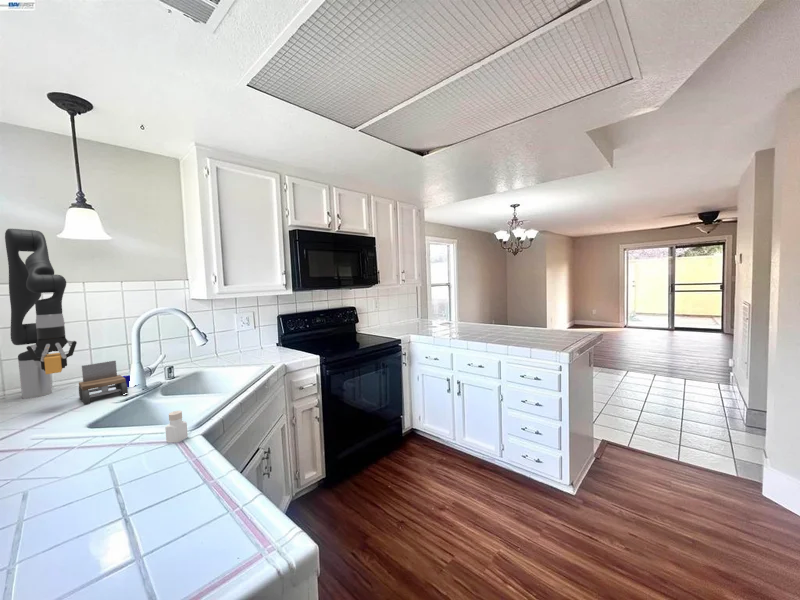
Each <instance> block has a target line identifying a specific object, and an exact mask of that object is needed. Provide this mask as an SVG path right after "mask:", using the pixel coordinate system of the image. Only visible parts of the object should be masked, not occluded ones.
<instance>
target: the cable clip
mask: <svg viewBox="0 0 800 600" xmlns="http://www.w3.org/2000/svg"><path fill="white" fill-rule="evenodd" d="M130 375H131V374H129V375H121V376H122V377H124V378H125V379H126V384H127V387H129V381H130Z"/></svg>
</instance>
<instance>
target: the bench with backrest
mask: <svg viewBox="0 0 800 600" xmlns="http://www.w3.org/2000/svg"><path fill="white" fill-rule="evenodd" d="M81 372H82V381H79V382H78V396H79V400H80V401H81V400H82V403H83V405H88V404H90V403H91V398H94V397H100V396H105V395H109V394H114V393H120V395H121V394H125V393H128V394H129V390H128V389H129V388H127V384H126V379H125V378H124V377H122V376H123V375H121V374H118V373H117V372H118V371H117V360H110V361H104V362H96V363H91V364H86V365H81ZM114 388H115V389H114ZM109 389H110V390H109ZM99 391H101V392H99ZM119 391H120V392H119ZM94 392H97V393H94Z"/></svg>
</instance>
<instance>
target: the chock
mask: <svg viewBox="0 0 800 600" xmlns="http://www.w3.org/2000/svg"><path fill="white" fill-rule="evenodd" d="M61 358H62V356H61V354H60V353H59V352H54V353H48V354H47V356H46V357H45V358H44V362H45V373H46V374H50V375H52V374H57V373H61V372H62V371H63V369H64V368H62V360H61Z"/></svg>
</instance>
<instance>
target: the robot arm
mask: <svg viewBox="0 0 800 600" xmlns="http://www.w3.org/2000/svg"><path fill="white" fill-rule="evenodd" d="M4 242H5V250H6V255H7V263H8V293H9V302H10V341H11V342H12V344H13V345H15V346H24V345H27V346H26V351H24V352H20V353H19V354H18V356H17V361H18V370H19V379H20V380H19V381H20V392H21V399H22V400H28V399H36V398H41V397H44V396H48V395H51V394H53V388H52V374H46V373H45V362H44V358H45V357H46V356H47V354H49V353H51V352H58V353H60V354H61V356H62V358H61V360H62V368H63V369H65V368H66V367H67V366H68V358H69V357H72V356H73V355H74V352H75V350H76V346H77V344H78V343H77V341H76V340H68V338H67V337H66V327H65V318H64V314H63V297H64V293H65V290H66V288H67V280H66V278H65V277H64V276H63V275H61V274H55V269H54V267H53V265H52V263H51V261H50V258H49V257H50V256H49V249H48V245H47V240H46V237H45V235H44V233H43V232H42V231H39V230H34V229H24V228H23V229H21V228H7V229H6V230H5V232H4ZM19 252H29V253H30V252H32V253H31V254H29V255H28V256H27V258H26V259H25V260H23V259H22V258H21V256H20V253H19ZM42 293H43V294H48V293H53V294H52V296H50V297H47V298H42V299H40V298H41V297H42ZM33 307H35V315H36V316H35V322H34V323H33V322H31V323H23V321H24V319H25V317H26V315H27V314H28V312H29V311H30V310H31V309H32V308H33ZM67 344H68V346H69V350H68V353H65V351H64V349H63V348H64V347H65V346H66V345H67Z"/></svg>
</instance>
